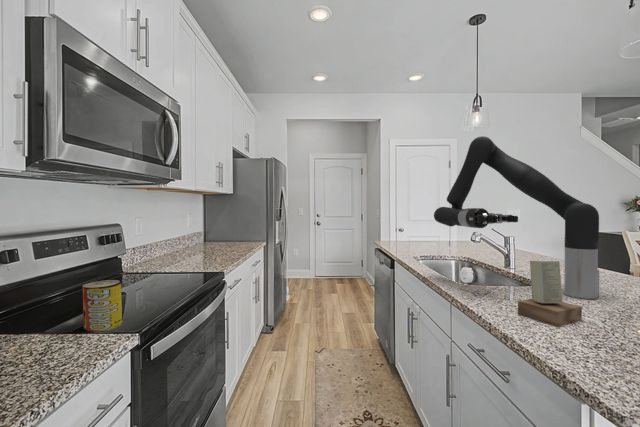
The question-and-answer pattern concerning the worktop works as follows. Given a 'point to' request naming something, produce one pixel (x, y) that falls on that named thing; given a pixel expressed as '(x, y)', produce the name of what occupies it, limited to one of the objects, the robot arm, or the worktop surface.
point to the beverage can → (102, 305)
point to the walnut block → (550, 312)
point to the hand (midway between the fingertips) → (507, 219)
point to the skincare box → (546, 281)
